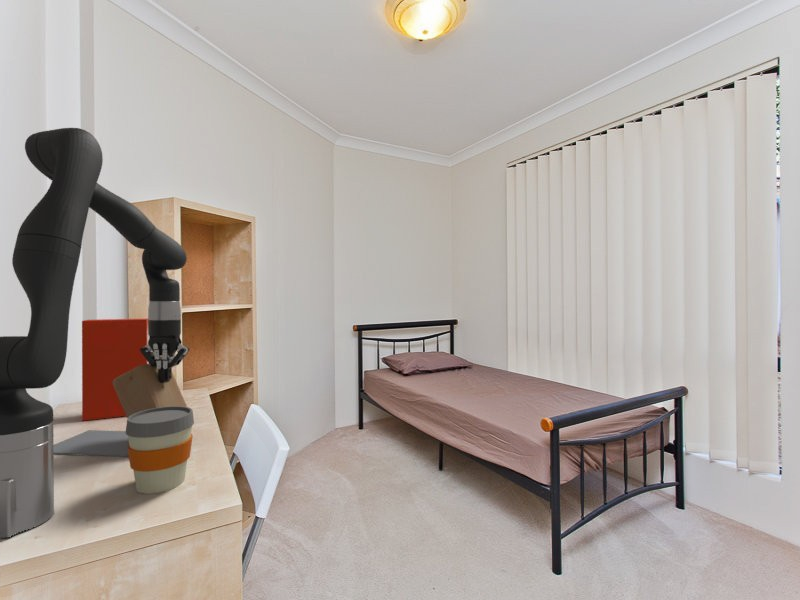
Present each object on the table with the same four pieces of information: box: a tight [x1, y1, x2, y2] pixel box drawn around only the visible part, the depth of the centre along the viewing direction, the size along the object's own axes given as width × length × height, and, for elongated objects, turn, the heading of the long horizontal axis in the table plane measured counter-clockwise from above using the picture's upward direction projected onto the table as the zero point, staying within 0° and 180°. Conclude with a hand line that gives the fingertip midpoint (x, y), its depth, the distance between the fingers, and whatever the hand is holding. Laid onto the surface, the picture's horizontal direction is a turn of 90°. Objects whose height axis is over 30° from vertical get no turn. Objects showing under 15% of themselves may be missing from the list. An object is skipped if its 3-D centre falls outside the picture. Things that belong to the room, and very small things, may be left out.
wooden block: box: [113, 364, 188, 419], centre depth 106 cm, size 10×10×20 cm
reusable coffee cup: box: [125, 406, 195, 495], centre depth 84 cm, size 13×13×15 cm
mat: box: [53, 429, 129, 457], centre depth 106 cm, size 16×24×1 cm, turn 87°
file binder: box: [81, 318, 150, 422], centre depth 131 cm, size 8×17×32 cm, turn 116°
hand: (165, 382), depth 105 cm, fingers closed
